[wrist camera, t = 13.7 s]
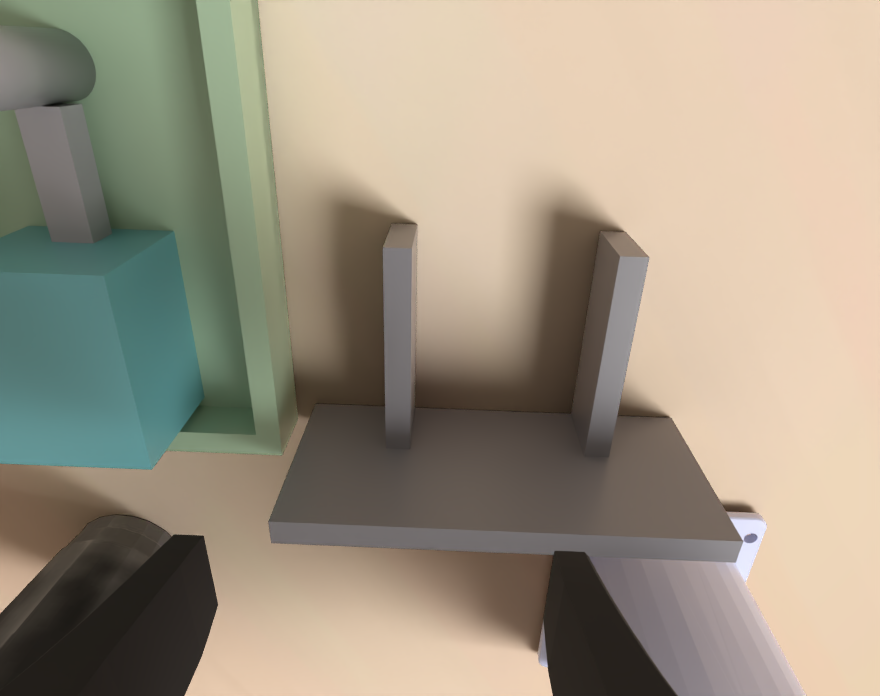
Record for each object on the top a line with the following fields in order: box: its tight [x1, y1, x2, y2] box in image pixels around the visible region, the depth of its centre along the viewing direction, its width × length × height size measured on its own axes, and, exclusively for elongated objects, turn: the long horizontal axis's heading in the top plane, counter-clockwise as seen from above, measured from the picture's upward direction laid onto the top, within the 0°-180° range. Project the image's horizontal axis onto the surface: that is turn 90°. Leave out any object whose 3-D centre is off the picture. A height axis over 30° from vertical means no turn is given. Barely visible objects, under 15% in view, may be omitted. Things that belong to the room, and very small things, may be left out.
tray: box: [0, 0, 298, 455], centre depth 17 cm, size 15×11×2 cm
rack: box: [268, 223, 743, 563], centre depth 17 cm, size 8×13×6 cm, turn 88°
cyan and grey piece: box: [0, 25, 205, 470], centre depth 15 cm, size 11×4×6 cm, turn 178°
